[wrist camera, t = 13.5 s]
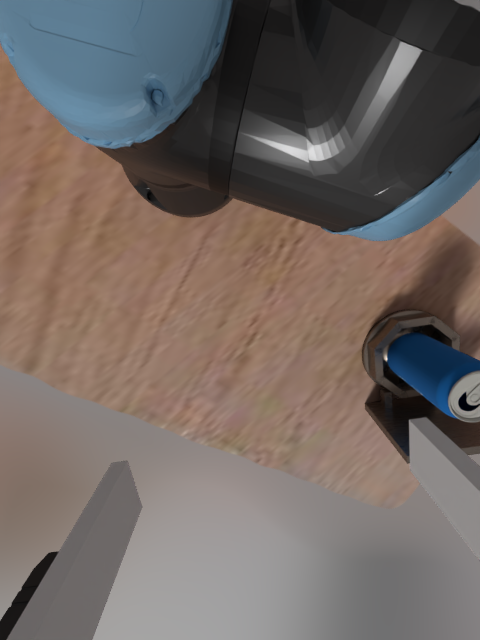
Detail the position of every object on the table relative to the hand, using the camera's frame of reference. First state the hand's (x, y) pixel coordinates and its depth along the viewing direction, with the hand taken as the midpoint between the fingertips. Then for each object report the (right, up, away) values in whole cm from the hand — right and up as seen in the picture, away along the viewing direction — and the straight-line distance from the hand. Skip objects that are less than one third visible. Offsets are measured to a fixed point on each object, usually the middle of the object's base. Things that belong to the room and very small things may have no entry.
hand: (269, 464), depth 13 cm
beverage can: (+22, +2, +26) cm, 34 cm away
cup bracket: (+22, +1, +27) cm, 35 cm away
